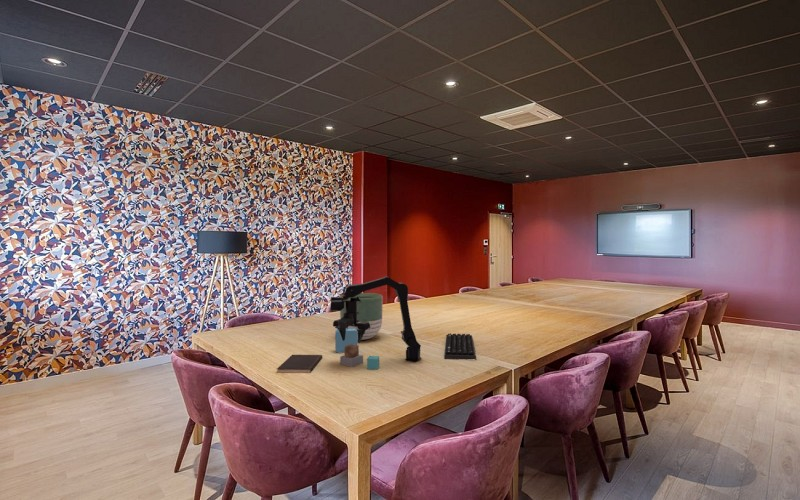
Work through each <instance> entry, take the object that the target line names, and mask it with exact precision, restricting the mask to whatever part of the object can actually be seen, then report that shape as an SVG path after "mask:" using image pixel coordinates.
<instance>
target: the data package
mask: <svg viewBox="0 0 800 500" xmlns="http://www.w3.org/2000/svg"><path fill="white" fill-rule="evenodd" d="M334 333H335V335H334V339H335V347H334V348H335V351H336V353H337V354H338V353H339V354H341V353H345V346H347V345H349V344H352V345H358V344H359V343H358V333H357V330H356V329H346V334H345V340H344V341H343V340H342V337H341V334H340V332H339V330H338V329H337V328H336V329H335V332H334Z"/></svg>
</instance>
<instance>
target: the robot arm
mask: <svg viewBox="0 0 800 500" xmlns="http://www.w3.org/2000/svg"><path fill="white" fill-rule="evenodd" d="M384 286H389V287H390V288H392V289H394V291H395V294H396V296H397V299H398V301H399V308H400V313H401V319H402V325H403V329H402V330H401V331H400V334H401V340H402V341H403V342H404V343H405V344H406V346H407V347H406V349H405V359H404V360H405V361H407V362H408V361H409V362H414V363H417V362H419V361H420V360H422V357H421V346H422V345H421V344H420V342H418V340H417V337H416V334H415V331H414V329H413V327H412V322H411V316H410V310H409V304H408V303H409V302H408V298H409V297H408V296H409V287H408V285H407V284H406V283H403V282H398V281H396V280H394V279H392V278H391V277H389V276H387V275H386V276H383V277H381V278H377V279H373V280H370V281H366V282H364V283H354V284H348V285H347V286H346V287H345V290H344V293H343V294H342V295H343V296H342V297H340V296H331V297H330V311H331V312H340V311H342V309H344V302H346V312H345V313H344V316H343V317H342V318H341V319H340V318H339V319H336V320H335V319H334V320H333V322H332V326H333V327H334V328H335V329H336V330H337V329H338V330H339V332H340V334H341V337H342V340H343V341H344V340H345V334H346V328H348V326H354V327H357V328H358V330H357V331H358V344H360V343H361V341H362V340H361V339H362V337H363V335H364V333H365V331H366V330H367V329H368V328H370V323H369V322H360V323H357V322H359V320H357V314H359V312H357V301H361V299H359V298H358V296H357V295H359V294H361V293H365V292H366V291H370V290H373V289H376V288H380V287H384ZM355 296H357V297H356V298H350V297H355ZM348 298H350V300H347V299H348ZM353 324H354V325H353Z"/></svg>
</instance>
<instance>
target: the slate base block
mask: <svg viewBox="0 0 800 500" xmlns="http://www.w3.org/2000/svg"><path fill="white" fill-rule="evenodd" d="M339 361H340V365H343V366H347V367H350V368H354V367H355V366H359V365H361V364H363V363H364V355H363V354H359V355H358V356H356V357H354V358H350V357H345V354H344V355H341V356H340V358H339Z"/></svg>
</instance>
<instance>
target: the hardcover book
mask: <svg viewBox="0 0 800 500" xmlns="http://www.w3.org/2000/svg"><path fill="white" fill-rule="evenodd" d="M322 359H323V355H322V354H291V355H290V356H289V357H288V358H287V359H285V361H284V362H282V363H281V364H280V365H279V366H278V367H277V368H276V370H277V373H303V374H304V373H305V374H306V373H309V374H310V373H312V372H313V371H314V370H315V368H316V367H317V366H318V364H319V363H320V362H321V360H322Z"/></svg>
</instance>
